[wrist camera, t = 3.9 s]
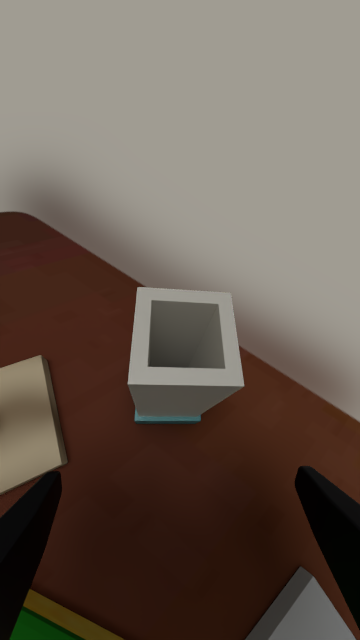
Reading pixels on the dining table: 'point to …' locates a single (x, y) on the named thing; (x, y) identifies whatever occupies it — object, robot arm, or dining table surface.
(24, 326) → the dining table surface
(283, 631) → the pin plate
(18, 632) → the dish sponge
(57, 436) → the pin plate
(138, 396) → the sleeve
